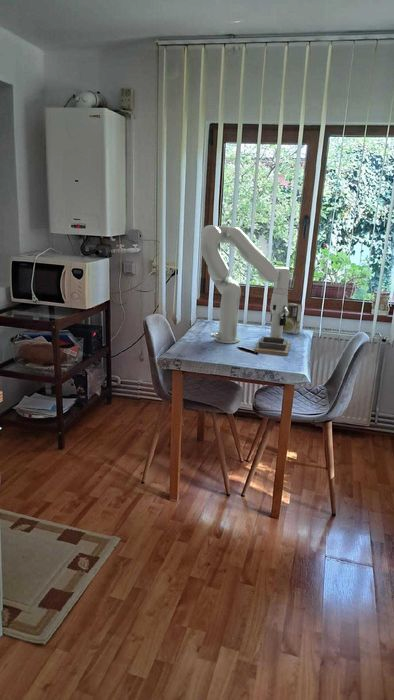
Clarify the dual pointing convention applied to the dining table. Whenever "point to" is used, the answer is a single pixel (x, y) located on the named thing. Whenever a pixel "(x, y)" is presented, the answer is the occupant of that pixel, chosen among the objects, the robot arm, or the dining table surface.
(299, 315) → the coffee box
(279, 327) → the travel mug
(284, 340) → the pocket board
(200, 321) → the dining table surface
